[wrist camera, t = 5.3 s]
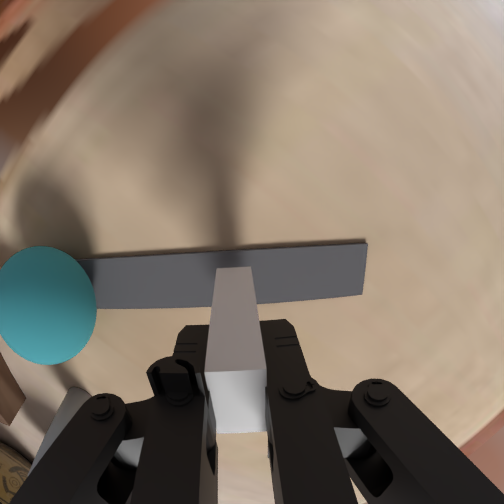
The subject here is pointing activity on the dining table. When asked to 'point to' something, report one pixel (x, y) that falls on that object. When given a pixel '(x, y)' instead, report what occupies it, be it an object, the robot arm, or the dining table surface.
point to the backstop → (9, 395)
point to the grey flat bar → (206, 263)
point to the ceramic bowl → (11, 472)
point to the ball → (46, 305)
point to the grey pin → (61, 419)
